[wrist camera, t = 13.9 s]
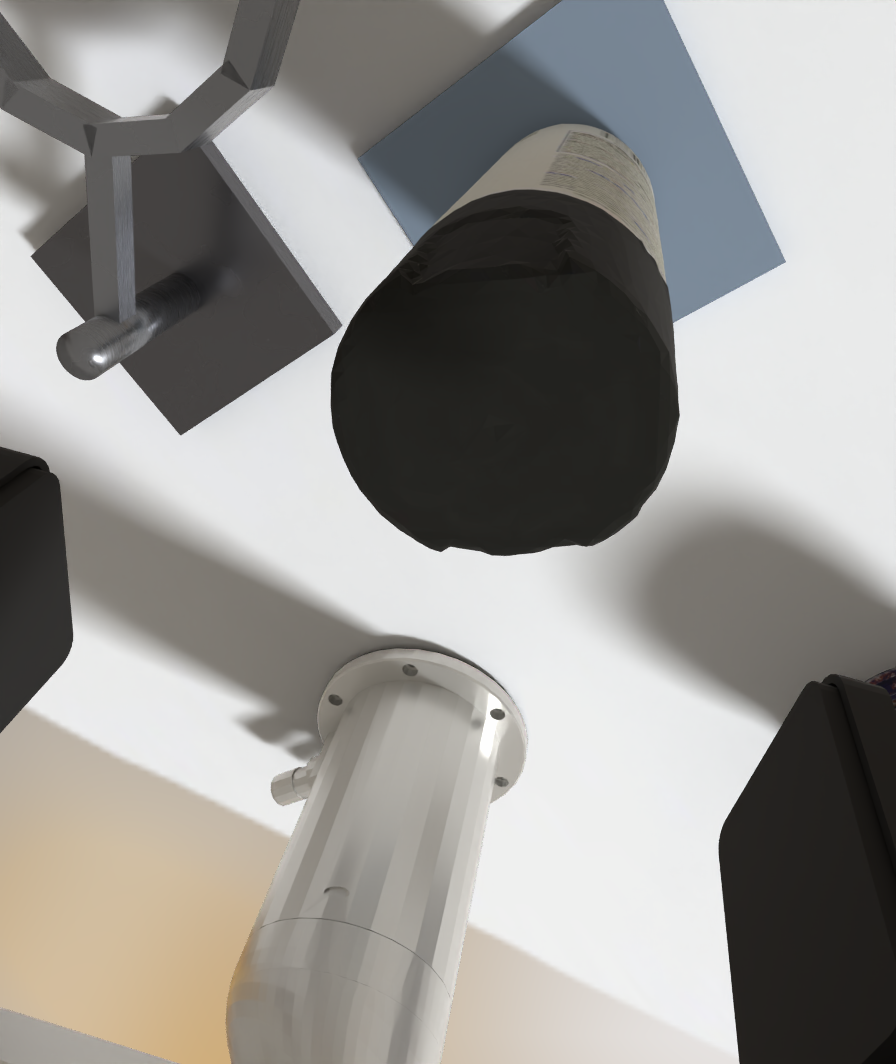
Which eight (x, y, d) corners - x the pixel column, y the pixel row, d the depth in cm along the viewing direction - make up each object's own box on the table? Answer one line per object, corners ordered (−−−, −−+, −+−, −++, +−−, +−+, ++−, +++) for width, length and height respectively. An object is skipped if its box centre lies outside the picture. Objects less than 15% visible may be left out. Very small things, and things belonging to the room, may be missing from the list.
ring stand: (191, 425, 41) (91, 517, 33) (-129, 38, 34) (-346, 45, 26) (534, 198, 32) (502, 254, 25) (198, -388, 25) (10, -558, 18)
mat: (519, 401, 37) (517, 406, 36) (361, 156, 33) (357, 158, 32) (783, 258, 31) (786, 262, 31) (636, -57, 27) (636, -58, 27)
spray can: (473, 130, 31) (277, 261, 14) (660, 107, 29) (687, 224, 12) (491, 306, 34) (350, 580, 17) (659, 294, 32) (680, 582, 16)
